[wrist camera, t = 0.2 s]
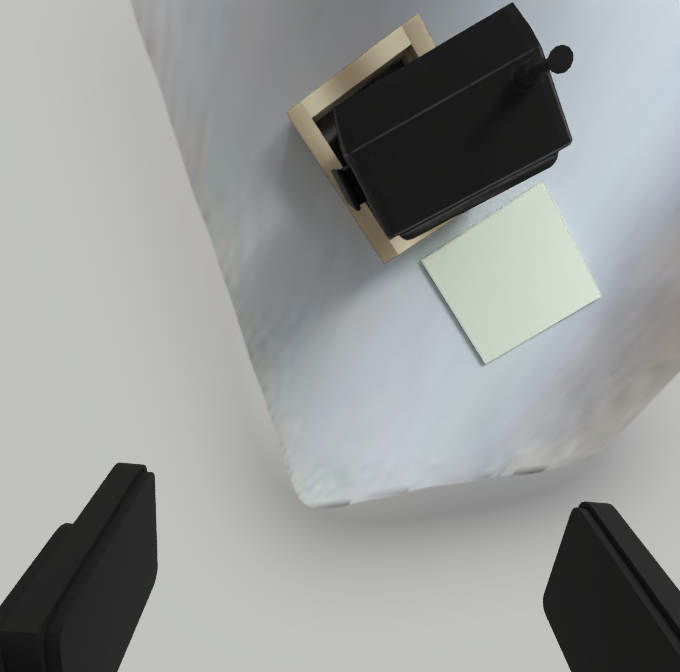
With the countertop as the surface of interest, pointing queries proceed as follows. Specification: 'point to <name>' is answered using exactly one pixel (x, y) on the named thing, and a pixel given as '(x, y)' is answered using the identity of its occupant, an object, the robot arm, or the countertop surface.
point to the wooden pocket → (396, 46)
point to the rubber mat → (512, 274)
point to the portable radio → (453, 126)
